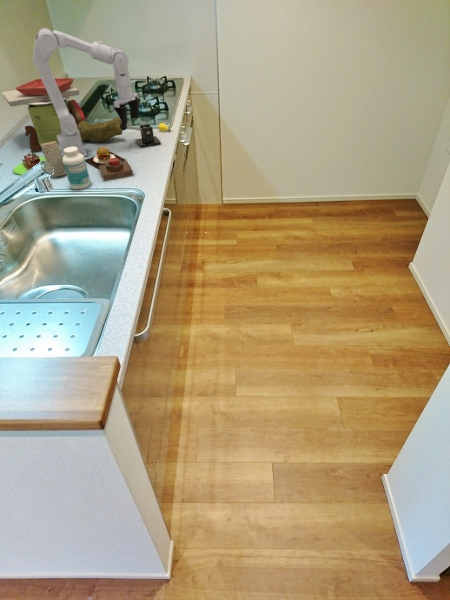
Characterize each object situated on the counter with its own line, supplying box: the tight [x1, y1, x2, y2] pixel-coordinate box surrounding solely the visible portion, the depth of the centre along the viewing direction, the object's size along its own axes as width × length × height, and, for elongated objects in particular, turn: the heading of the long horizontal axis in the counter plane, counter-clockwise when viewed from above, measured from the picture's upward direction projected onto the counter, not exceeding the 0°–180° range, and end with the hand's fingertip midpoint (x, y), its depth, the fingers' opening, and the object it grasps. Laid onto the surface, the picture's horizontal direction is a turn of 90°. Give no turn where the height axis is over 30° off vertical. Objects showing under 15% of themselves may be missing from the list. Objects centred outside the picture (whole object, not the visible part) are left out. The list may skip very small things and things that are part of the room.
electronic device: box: [0, 85, 81, 107], centre depth 173 cm, size 29×20×2 cm
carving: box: [40, 141, 66, 177], centre depth 150 cm, size 6×8×12 cm
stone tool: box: [77, 116, 124, 142], centre depth 177 cm, size 20×9×10 cm
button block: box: [98, 160, 134, 182], centre depth 152 cm, size 11×10×4 cm
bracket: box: [135, 123, 162, 149], centre depth 174 cm, size 9×8×7 cm
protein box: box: [27, 99, 70, 145], centre depth 177 cm, size 10×15×16 cm
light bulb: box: [158, 122, 172, 132], centre depth 186 cm, size 3×6×4 cm
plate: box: [24, 97, 70, 106], centre depth 173 cm, size 21×21×2 cm
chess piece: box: [24, 125, 42, 153], centre depth 170 cm, size 5×5×10 cm
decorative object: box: [67, 99, 86, 126], centre depth 184 cm, size 14×4×15 cm
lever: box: [120, 123, 146, 132], centre depth 170 cm, size 13×3×3 cm, turn 112°
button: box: [109, 158, 119, 166], centre depth 151 cm, size 4×4×2 cm
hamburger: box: [85, 146, 126, 171], centre depth 161 cm, size 12×12×6 cm
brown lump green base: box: [13, 152, 46, 176], centre depth 157 cm, size 15×15×6 cm
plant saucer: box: [14, 77, 75, 95], centre depth 169 cm, size 18×18×3 cm
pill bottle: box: [62, 147, 92, 190], centre depth 142 cm, size 8×7×14 cm
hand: (130, 120), depth 168 cm, fingers open, 7 cm apart
